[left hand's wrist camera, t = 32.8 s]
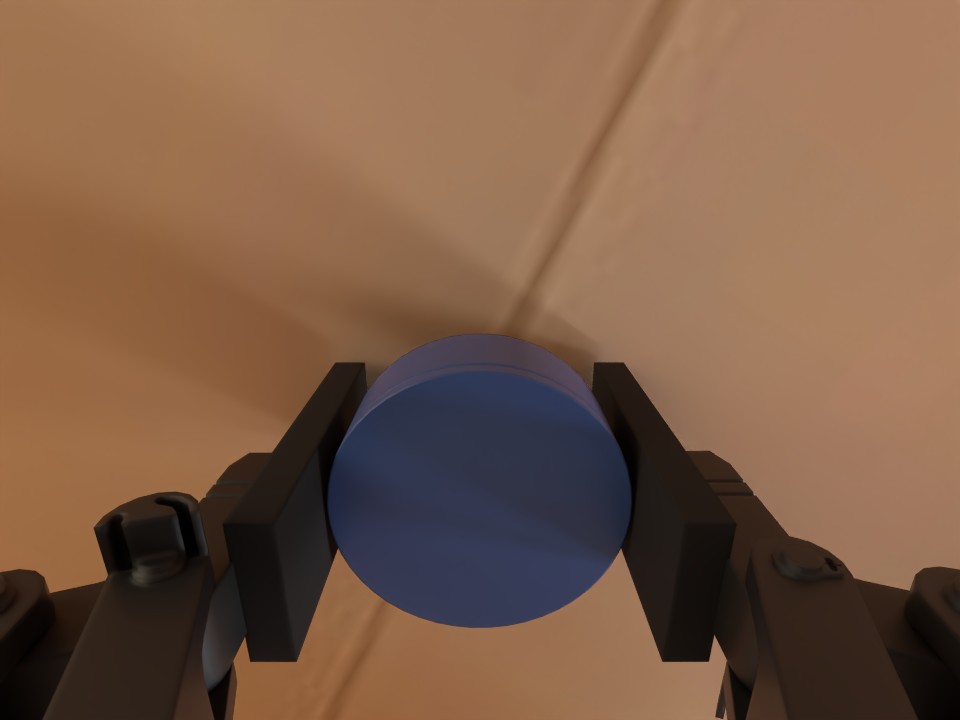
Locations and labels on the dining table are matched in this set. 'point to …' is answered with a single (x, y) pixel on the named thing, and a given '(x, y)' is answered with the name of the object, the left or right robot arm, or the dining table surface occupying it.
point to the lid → (479, 484)
